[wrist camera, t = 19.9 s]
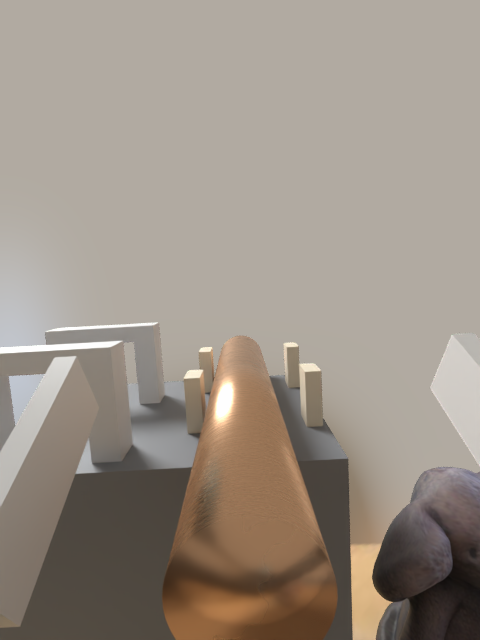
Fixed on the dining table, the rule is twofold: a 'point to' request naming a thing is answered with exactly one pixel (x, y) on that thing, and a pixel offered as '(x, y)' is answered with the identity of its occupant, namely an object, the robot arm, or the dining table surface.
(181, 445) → the grey pedestal with pegs
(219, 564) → the copper tube
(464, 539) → the elephant
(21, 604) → the robot arm
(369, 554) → the dining table surface
